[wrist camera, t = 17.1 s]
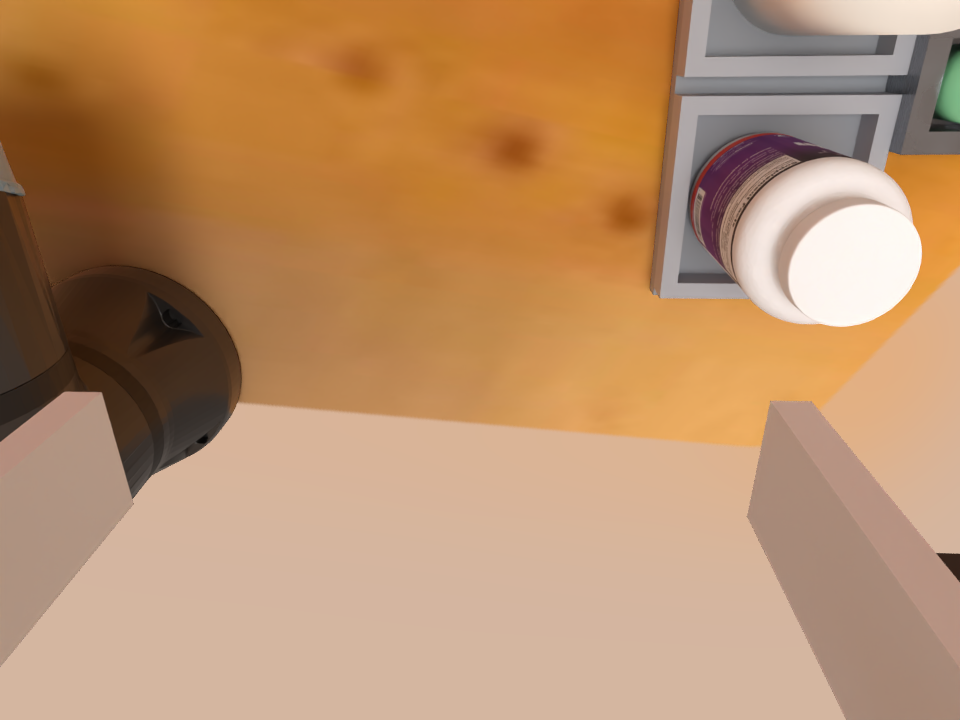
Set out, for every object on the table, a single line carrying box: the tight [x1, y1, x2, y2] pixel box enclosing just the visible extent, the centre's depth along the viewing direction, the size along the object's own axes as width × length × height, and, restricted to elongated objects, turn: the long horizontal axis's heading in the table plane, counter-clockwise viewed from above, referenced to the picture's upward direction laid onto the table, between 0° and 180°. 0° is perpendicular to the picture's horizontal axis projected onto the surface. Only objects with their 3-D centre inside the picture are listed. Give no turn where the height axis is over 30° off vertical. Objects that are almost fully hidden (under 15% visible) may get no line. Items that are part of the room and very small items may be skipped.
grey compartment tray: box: [650, 0, 917, 299], centre depth 39 cm, size 12×26×3 cm, turn 1°
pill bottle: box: [689, 132, 922, 327], centre depth 35 cm, size 8×8×14 cm
